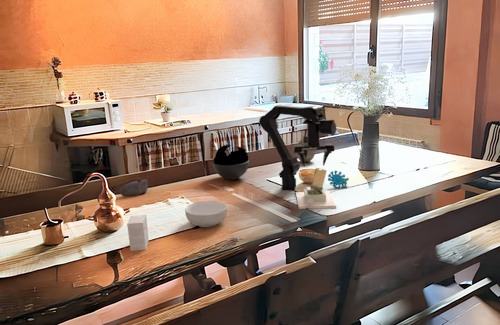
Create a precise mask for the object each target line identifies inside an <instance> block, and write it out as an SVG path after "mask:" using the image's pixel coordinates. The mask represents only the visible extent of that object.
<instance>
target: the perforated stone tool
mask: <svg viewBox="0 0 500 325" xmlns="http://www.w3.org/2000/svg"><path fill="white" fill-rule="evenodd" d="M148 188H149V180H148V179H146V178H145V179H139V180H135V181H131V182H129V183H125V184H124V185H122V186H120V188H119V195H121V196H122V197H130V196H137V195H141V194H145V193H147V192H148Z"/></svg>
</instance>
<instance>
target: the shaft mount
mask: <svg viewBox="0 0 500 325" xmlns="http://www.w3.org/2000/svg"><path fill="white" fill-rule="evenodd" d="M310 189H311V188H310V186H306V187H305V188H304V189H303V191H296V192H295V197H297V198H296V201H297V207H298V209H299V210H301V209H303V210H304V209H306V208H309V209H336V208H337V205H336V203H335V200H334V198H333V196H332V194H331V191H329V190H328V191H327V190H326V191H325V189H324V188H323V190H322V191H321V194H318V195H309V193H310Z"/></svg>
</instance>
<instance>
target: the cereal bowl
mask: <svg viewBox="0 0 500 325" xmlns="http://www.w3.org/2000/svg"><path fill="white" fill-rule="evenodd" d="M184 211H185V217H186V219H187V221H188V222H190V223H191V224H193V225H195V226H198V227H201V228H211V227H214V226H217V225H218V224H220V223H221V222H222V221H224V220H225V219H226V217H227V213H228V206H227V204H226V203H224V202H221V201H218V200H217V201H215V200H202V201H196V202H193V203H190V204H188V205H187V206H186V207H185V210H184Z"/></svg>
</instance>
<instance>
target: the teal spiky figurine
mask: <svg viewBox="0 0 500 325" xmlns="http://www.w3.org/2000/svg"><path fill="white" fill-rule="evenodd" d="M327 178H328V179H327V181H328V182H329V181H330V182H329V185H330V186H333V188H336V187H337V189H338V190H340V189H341V188H342V189H344V188H345V187H346V186H347V184H348V181H349V180H350V178H349V177H347V178H346V175H345V174H342V172H341V171H339V172H338V171H337V170H334V171H333V170H332V171H330V173H329V174H328V175H327Z"/></svg>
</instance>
